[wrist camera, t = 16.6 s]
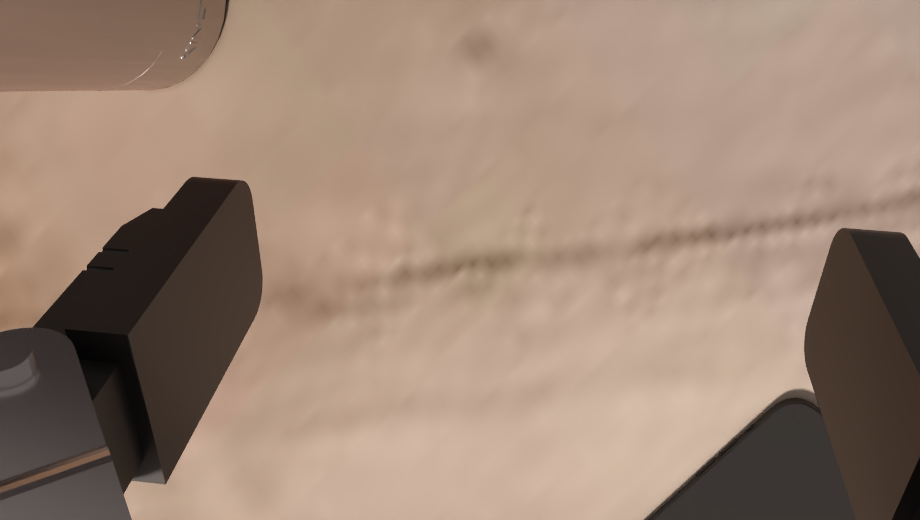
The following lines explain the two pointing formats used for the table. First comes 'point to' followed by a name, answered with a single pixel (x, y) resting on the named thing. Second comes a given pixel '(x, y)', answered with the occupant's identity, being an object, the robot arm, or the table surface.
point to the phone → (769, 474)
